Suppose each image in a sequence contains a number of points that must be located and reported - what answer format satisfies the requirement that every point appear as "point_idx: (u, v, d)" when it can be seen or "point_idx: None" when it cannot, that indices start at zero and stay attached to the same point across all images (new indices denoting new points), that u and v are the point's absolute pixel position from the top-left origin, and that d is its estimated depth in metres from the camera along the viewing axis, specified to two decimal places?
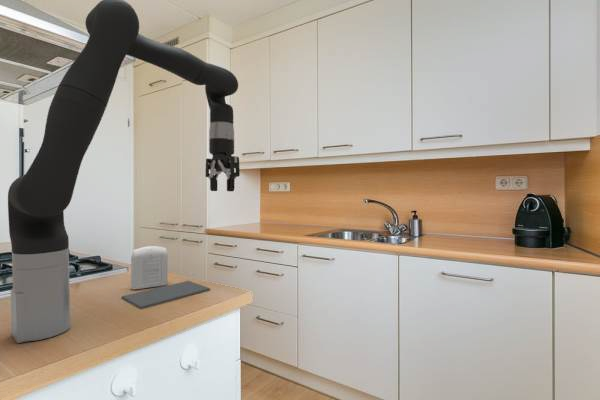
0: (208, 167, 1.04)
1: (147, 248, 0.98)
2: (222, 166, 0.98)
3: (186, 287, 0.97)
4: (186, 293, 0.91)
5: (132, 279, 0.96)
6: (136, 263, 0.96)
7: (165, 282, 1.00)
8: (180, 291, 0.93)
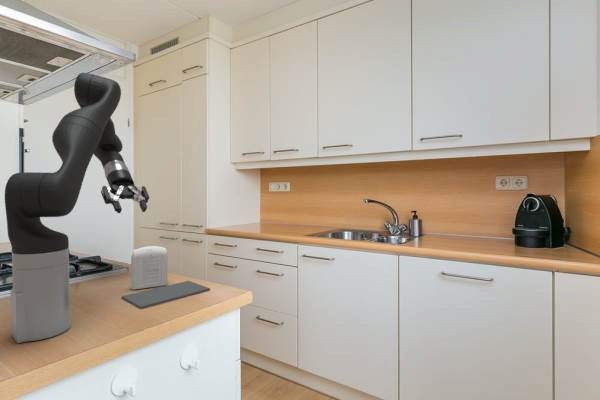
0: None
1: (147, 248, 0.98)
2: (134, 190, 1.12)
3: (186, 287, 0.97)
4: (186, 293, 0.91)
5: (132, 279, 0.96)
6: (136, 263, 0.96)
7: (165, 282, 1.00)
8: (180, 291, 0.93)
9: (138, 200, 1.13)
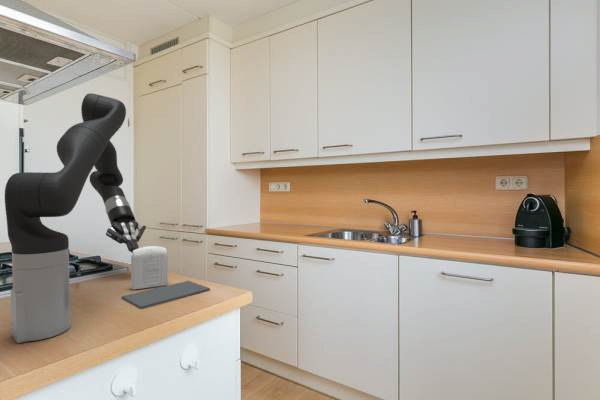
0: None
1: (147, 248, 0.98)
2: (132, 228, 1.10)
3: (186, 287, 0.97)
4: (186, 293, 0.91)
5: (132, 279, 0.96)
6: (136, 263, 0.96)
7: (165, 282, 1.00)
8: (180, 291, 0.93)
9: (131, 239, 1.10)
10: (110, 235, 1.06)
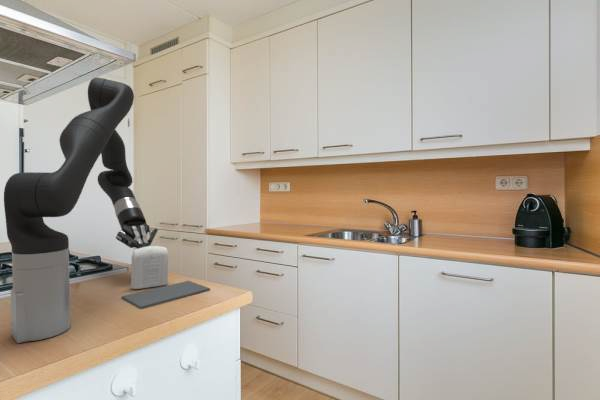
0: None
1: (148, 248, 0.97)
2: (143, 231, 1.04)
3: (186, 287, 0.97)
4: (186, 293, 0.91)
5: (132, 279, 0.96)
6: (137, 264, 0.95)
7: (165, 282, 1.00)
8: (180, 291, 0.93)
9: (142, 242, 1.04)
10: (120, 239, 1.00)
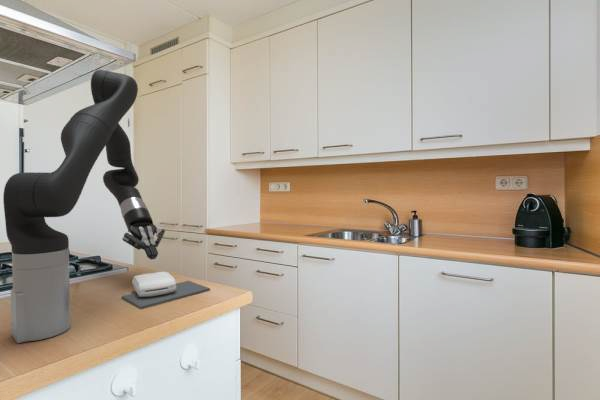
0: None
1: (155, 294, 0.88)
2: (151, 232, 1.01)
3: (186, 287, 0.97)
4: (186, 293, 0.91)
5: None
6: None
7: None
8: (180, 291, 0.93)
9: (149, 244, 1.01)
10: (127, 240, 0.97)
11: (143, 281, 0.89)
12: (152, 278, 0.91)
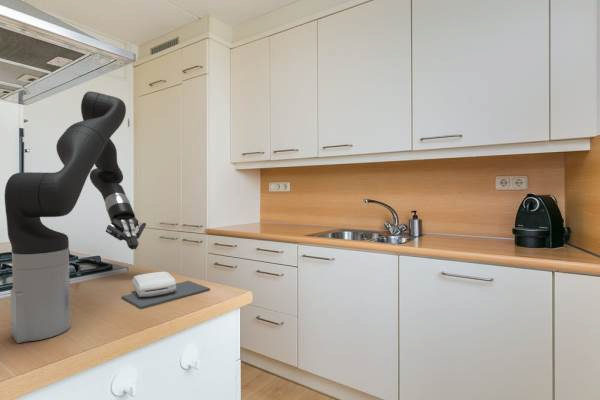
0: None
1: (155, 294, 0.88)
2: (132, 225, 1.10)
3: (186, 287, 0.97)
4: (186, 293, 0.91)
5: None
6: None
7: None
8: (180, 291, 0.93)
9: (131, 236, 1.10)
10: (110, 232, 1.06)
11: (143, 281, 0.89)
12: (152, 278, 0.91)
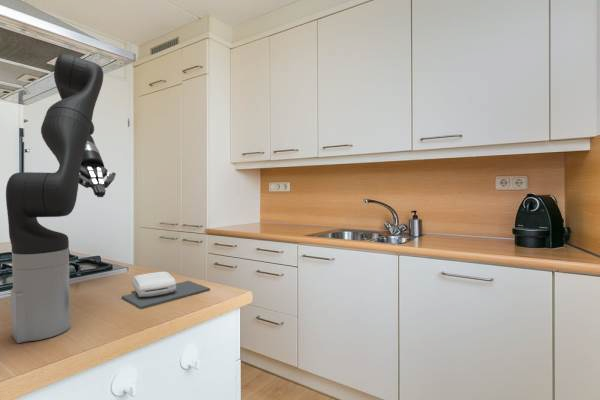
0: None
1: (155, 294, 0.88)
2: (100, 173, 1.04)
3: (186, 287, 0.97)
4: (186, 293, 0.91)
5: None
6: None
7: None
8: (180, 291, 0.93)
9: None
10: None
11: (143, 281, 0.89)
12: (152, 278, 0.91)
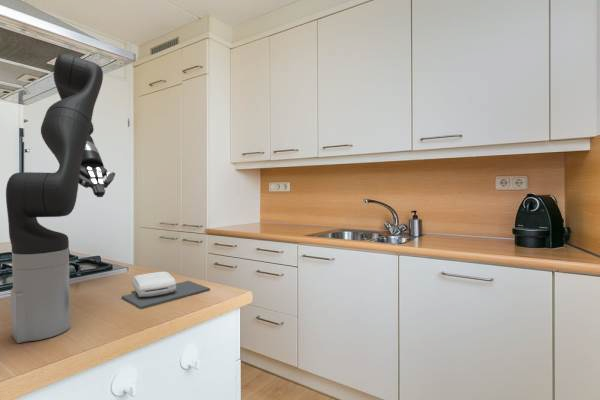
0: None
1: (155, 294, 0.88)
2: (99, 173, 1.04)
3: (186, 287, 0.97)
4: (186, 293, 0.91)
5: None
6: None
7: None
8: (180, 291, 0.93)
9: None
10: None
11: (143, 281, 0.89)
12: (152, 278, 0.91)
